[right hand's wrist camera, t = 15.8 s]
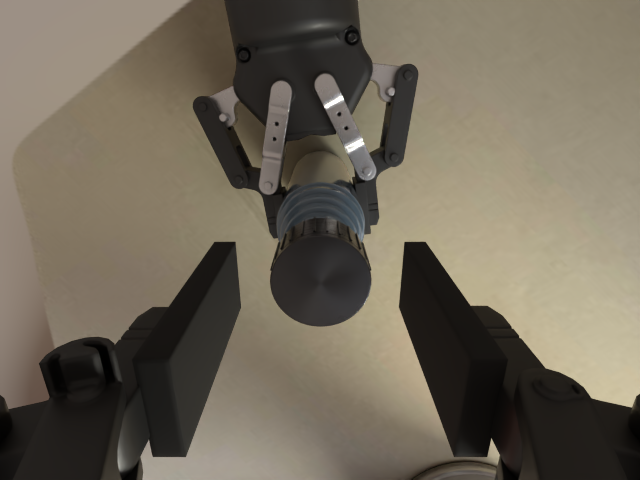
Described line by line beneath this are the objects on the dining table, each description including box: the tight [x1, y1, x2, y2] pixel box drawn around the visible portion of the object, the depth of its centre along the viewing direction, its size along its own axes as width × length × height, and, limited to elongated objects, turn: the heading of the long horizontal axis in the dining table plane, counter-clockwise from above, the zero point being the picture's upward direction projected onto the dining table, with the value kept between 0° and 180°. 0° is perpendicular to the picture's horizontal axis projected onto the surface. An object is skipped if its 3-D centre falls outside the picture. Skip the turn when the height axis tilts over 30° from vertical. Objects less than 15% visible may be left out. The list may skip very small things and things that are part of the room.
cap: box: [270, 217, 371, 326], centre depth 15 cm, size 4×4×2 cm
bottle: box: [276, 151, 365, 243], centre depth 24 cm, size 5×5×19 cm
